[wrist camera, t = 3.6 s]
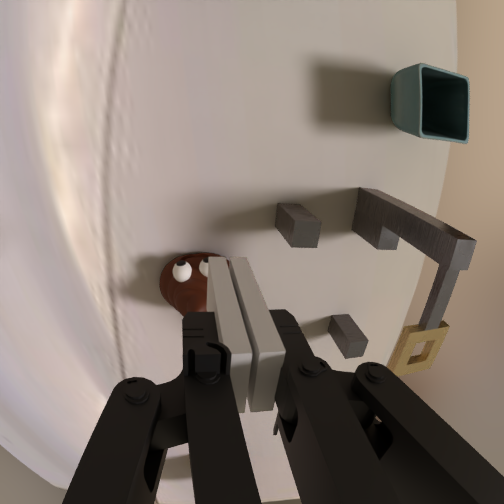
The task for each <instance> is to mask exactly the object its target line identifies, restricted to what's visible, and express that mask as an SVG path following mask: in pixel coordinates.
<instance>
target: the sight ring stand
mask: <svg viewBox="0 0 504 504" xmlns="http://www.w3.org/2000/svg"><path fill="white" fill-rule="evenodd" d="M356 209H357V210H358V211H360V212H362V213H363V214H365V215H366V216H368V217H370V218H371V219H373V220H374V221H376V222H377V223H379V224H381V225H382V226H384V227H385V228H387V229H388V230H390V231H391V232H393V233H394V234H396V235H398V236H399V237H401V238H402V239H404V240H405V241H407V242H408V243H410V244H411V245H412V246H414V247H415V248H417V249H418V250H420V251H421V252H423V253H424V254H426V255H427V256H428V257H430V258H431V259H433V260H434V261H436V262H437V263H439V267H438V271H437V274H436V277H435V280H434V283H433V286H432V289H431V292H430V294H429V297H428V300H427V303H426V306H425V308H424V311H423V314H422V317H421V319H420V321H419V324H417V325H410V326H404V328H403V331H402V333H401V335H400V338H399V341H398V343H397V346H396V348H395V350H394V353H393V355H392V357H391V360H390V362H389V364H388V367H387V368H388V369H390V370H391V371H392V372H393V373H394V374H395V375H396V376H401V375H406V374H410V373H413V372H418V371H422V370H425V369H429V368H430V367H431V365H432V363H433V361H434V359H435V357H436V355H437V353H438V351H439V349H440V347H441V345H442V343H443V340H444V338H445V336H446V334H447V332H448V329H449V327H450V326H449V325H448V324H447V323H446V322H445V321H444V320H443V321H441V320H442V317H443V314H444V312H445V310H446V307H447V305H448V302H449V299H450V297H451V294H452V291H453V288H454V286H455V283H456V280H457V277H458V274H459V271H460V270H468V267H469V264H470V261H471V258H472V255H473V252H474V249H475V245H476V242H477V241H476V240H475V239H473V238H471V237H469V236H468V235H466V234H464V233H462V232H461V231H459V230H457V229H455V228H453V227H451V226H450V225H448V224H446V223H444V222H442V221H440V220H438V219H436V218H435V217H433V216H431V215H429V214H427V213H425V212H423V211H421V210H419V209H417V208H415V207H413V206H411V205H409V204H407V203H405V202H403V201H401V200H399V199H396V198H394V197H392V196H390V195H388V194H386V193H384V192H382V191H379V190H376V189H368V188H360V187H359V193H358V199H357V204H356ZM425 341H426V343H425V346H424V348H423V350H422V352H421V354H420V355H415V356H411V354H412V351H413V349H414V347H415V345H416V343H420V342H425ZM410 356H411V357H410Z"/></svg>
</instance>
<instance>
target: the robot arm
mask: <svg viewBox="0 0 504 504" xmlns="http://www.w3.org/2000/svg"><path fill="white" fill-rule="evenodd" d="M182 332H183V370H182V372H181V374H180V375H179V376H178V377H177V378H175V379H174V380H172V381H170V382H167V383H163V384H159V385H156V384H155V383H153V382H152V381H151V380H148V379H145V378H141V377H132V378H128V379H124V380H123V381H121V382H119V383H118V384H117V385H116V386H115V388H114V389H113V391H112V393H111V395H110V397H109V399H108V401H107V404H106V406H105V408H104V410H103V412H102V414H101V416H100V418H99V420H98V422H97V425H96V427H95V429H94V431H93V433H92V435H91V438H90V440H89V442H88V444H87V446H86V449H85V451H84V453H83V455H82V458H81V460H80V462H79V464H78V467H77V469H76V471H75V474H74V476H73V478H72V481H71V483H70V486H69V488H68V490H67V493H66V495H65V498H64V500H63V503H62V504H154V501H155V497H156V493H157V489H158V485H159V481H160V477H161V473H162V470H163V466H164V462H165V458H166V454H167V450H168V448H171V447H174V446H178V445H181V444H185V443H188V446H189V456H190V465H191V474H192V482H193V490H194V498H195V504H262V503H261V500H260V496H259V492H258V489H257V485H256V481H255V477H254V473H253V470H252V466H251V462H250V458H249V454H248V450H247V446H246V442H245V438H244V434H243V429H242V425H241V421H240V417H239V413H244V412H245V405H246V398H247V399H248V403H249V407H250V411H251V412H260V411H271V410H273V407H274V403H275V401H276V404H277V407H278V414H277V418H276V422H275V425H274V429H273V435H277V432H278V428H279V431H280V435H281V438H282V441H283V444H284V448H285V451H286V454H287V458H288V461H289V464H290V467H291V470H292V474H293V477H294V480H295V483H296V486H297V490H298V493H299V496H300V499H301V502H302V504H504V477H503V476H502V475H501V474H500V473H499V472H498V471H497V470H496V469H495V468H494V467H493V466H492V465H491V464H490V463H489V462H488V461H487V460H486V459H484V458H483V457H482V456H481V455H480V454H479V453H478V452H477V451H476V450H475V449H474V448H473V447H472V446H471V445H470V444H469V443H468V442H467V441H465V440H464V439H463V438H462V437H461V436H460V435H459V434H458V433H457V432H456V431H455V430H454V429H453V428H452V427H451V426H450V425H448V424H447V423H446V422H445V421H444V420H443V419H442V418H441V417H440V416H439V415H438V414H437V413H436V412H435V411H434V410H433V409H431V408H430V407H429V406H428V405H427V404H426V403H425V402H424V401H423V400H422V399H421V398H420V397H419V396H418V395H416V394H415V393H414V392H413V391H412V390H411V389H410V388H409V387H408V386H407V385H406V384H405V383H403V381H401V380H400V379H399V378H398V377H397V376H396V375H395V374H394V373H393V372H392V371H391V370H390V369H388V368H387V367H385V366H384V365H382V364H379V363H375V362H366V363H362V364H361V365H359V366H358V367H357V369H356V371H355V373H352V372H342V371H336V370H332V369H331V367H330V366H329V365H328V363H327V362H326V361H324V360H323V359H321V358H319V357H316V356H314V354H313V352H312V350H311V348H310V346H309V344H308V342H307V340H306V339H305V337H304V335H303V333H302V331H301V329H300V327H298V323H297V321H296V319H295V317H294V316H293V315H292V314H290V313H289V312H288V311H287V310H285V309H281V310H268V308H267V305H266V303H265V300H264V298H263V296H262V293H261V291H260V288H259V286H258V284H257V281H256V279H255V276H254V274H253V272H252V269H251V267H250V264H249V262H248V260H247V257H230V264H229V268H228V265H227V261H226V257H209V259H208V281H207V312H187V314H186V315H185V316H184V318H183V319H182ZM376 416H377V417H378V418H379V419H380V420H381V421H382V422H379V421H378V420H376V418H375V417H376Z"/></svg>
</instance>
